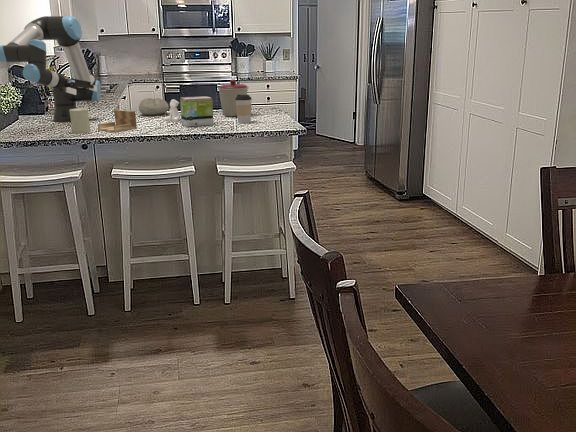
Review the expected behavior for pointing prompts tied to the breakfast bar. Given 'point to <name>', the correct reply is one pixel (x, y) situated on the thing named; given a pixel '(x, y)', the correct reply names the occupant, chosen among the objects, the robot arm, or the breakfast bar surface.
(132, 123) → the cradle
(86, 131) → the can
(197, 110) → the tea box
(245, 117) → the coffee cup
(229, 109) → the canister
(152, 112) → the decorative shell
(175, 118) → the white creature statuette
